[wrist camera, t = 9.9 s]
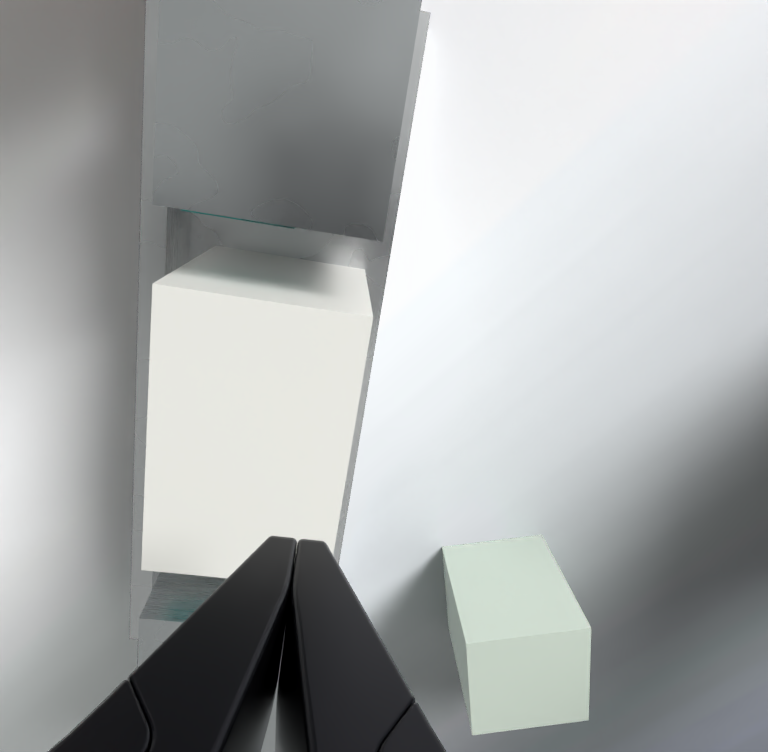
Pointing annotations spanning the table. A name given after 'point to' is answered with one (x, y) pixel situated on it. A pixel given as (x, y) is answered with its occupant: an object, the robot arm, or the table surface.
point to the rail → (266, 180)
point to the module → (249, 406)
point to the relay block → (516, 635)
